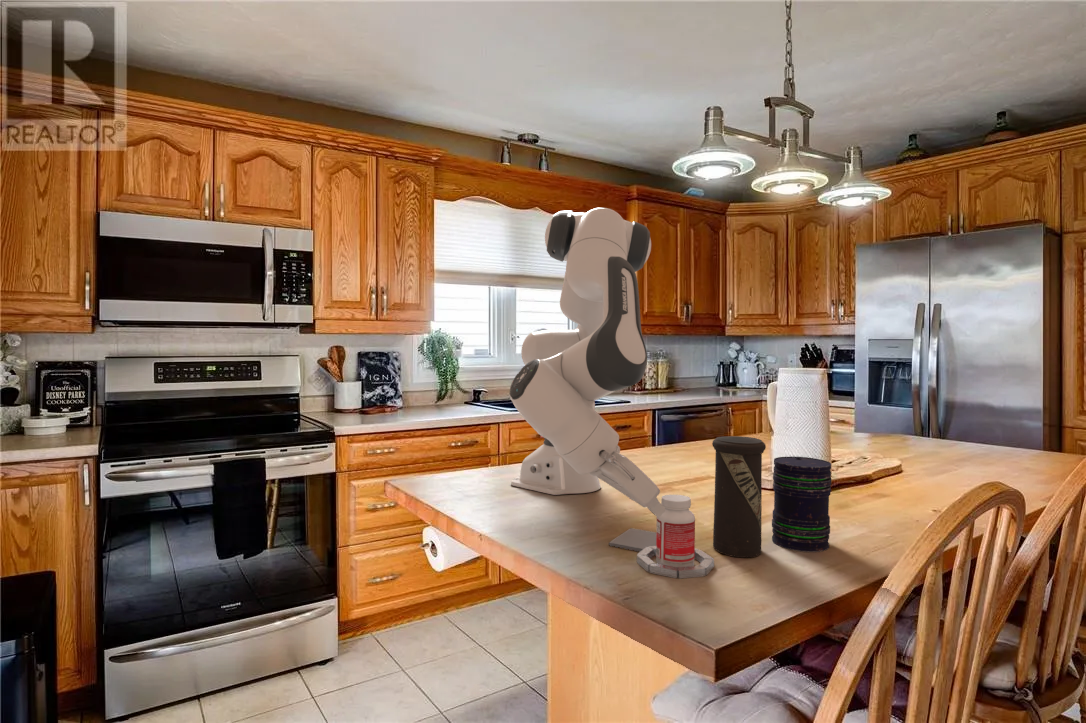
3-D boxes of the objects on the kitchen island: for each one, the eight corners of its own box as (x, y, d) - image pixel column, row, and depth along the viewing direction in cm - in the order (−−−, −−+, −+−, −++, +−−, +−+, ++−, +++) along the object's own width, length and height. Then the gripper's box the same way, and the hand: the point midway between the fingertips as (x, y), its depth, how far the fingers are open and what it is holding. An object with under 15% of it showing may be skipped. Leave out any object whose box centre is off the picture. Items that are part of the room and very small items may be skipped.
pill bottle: (702, 566, 101) (703, 499, 101) (675, 574, 98) (676, 504, 98) (674, 555, 107) (675, 491, 106) (648, 562, 103) (649, 495, 103)
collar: (628, 568, 100) (628, 560, 100) (653, 547, 110) (654, 541, 110) (699, 583, 94) (699, 575, 94) (719, 560, 104) (719, 552, 104)
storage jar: (836, 554, 108) (839, 468, 107) (777, 550, 109) (779, 465, 109) (821, 536, 118) (823, 457, 117) (766, 532, 119) (768, 455, 119)
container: (734, 561, 104) (736, 442, 103) (700, 545, 112) (702, 434, 111) (774, 554, 107) (777, 439, 106) (738, 539, 115) (740, 431, 115)
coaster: (608, 545, 111) (608, 542, 111) (630, 531, 120) (630, 527, 120) (662, 556, 106) (662, 552, 106) (681, 540, 115) (681, 536, 115)
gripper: (630, 442, 88) (691, 507, 91) (584, 423, 108) (636, 476, 111) (599, 475, 87) (663, 539, 90) (559, 450, 107) (612, 503, 110)
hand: (648, 504), depth 101 cm, fingers open, 8 cm apart
